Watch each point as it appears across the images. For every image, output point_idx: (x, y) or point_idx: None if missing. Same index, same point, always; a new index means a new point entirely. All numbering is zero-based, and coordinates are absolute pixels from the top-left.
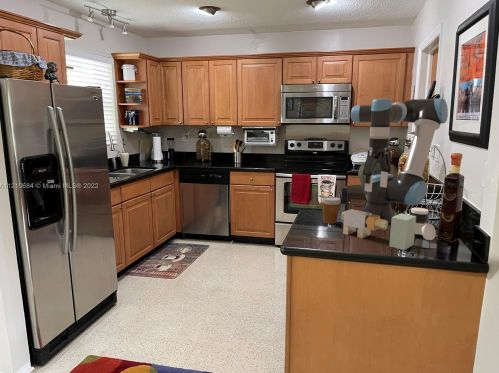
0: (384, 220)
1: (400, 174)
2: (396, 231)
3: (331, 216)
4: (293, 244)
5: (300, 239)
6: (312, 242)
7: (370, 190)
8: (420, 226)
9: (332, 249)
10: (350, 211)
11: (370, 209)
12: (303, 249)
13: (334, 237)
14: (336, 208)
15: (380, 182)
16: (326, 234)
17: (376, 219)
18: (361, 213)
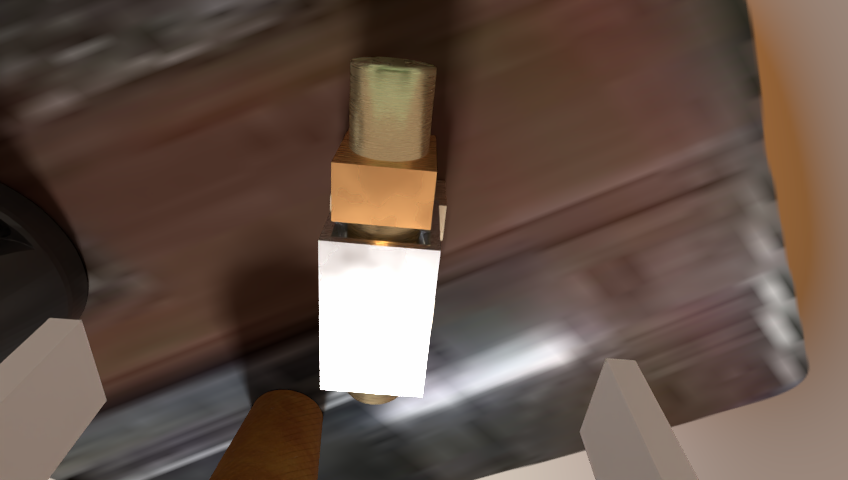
0: (398, 88)
1: None
2: None
3: (307, 434)
4: (744, 382)
5: (655, 391)
6: (671, 339)
7: (644, 380)
8: None
9: (735, 227)
10: (391, 369)
11: (12, 331)
12: (797, 325)
13: (527, 299)
14: (271, 463)
15: (61, 455)
16: (503, 345)
17: (403, 159)
18: (389, 296)
